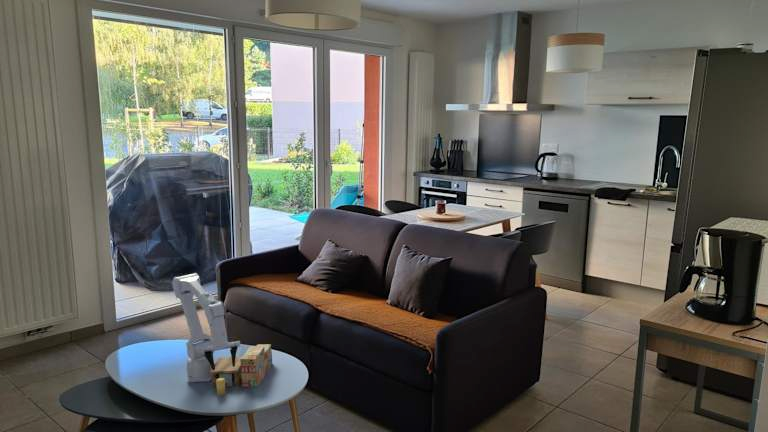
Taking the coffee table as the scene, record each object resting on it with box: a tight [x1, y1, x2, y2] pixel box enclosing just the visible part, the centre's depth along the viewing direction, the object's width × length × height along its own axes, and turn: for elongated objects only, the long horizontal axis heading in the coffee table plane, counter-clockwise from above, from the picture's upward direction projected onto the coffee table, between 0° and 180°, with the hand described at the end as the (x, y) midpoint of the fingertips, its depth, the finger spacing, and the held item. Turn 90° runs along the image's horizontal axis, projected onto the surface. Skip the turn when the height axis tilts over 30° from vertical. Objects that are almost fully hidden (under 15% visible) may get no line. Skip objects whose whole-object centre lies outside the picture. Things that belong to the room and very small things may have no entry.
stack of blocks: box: [240, 343, 273, 388], centre depth 224 cm, size 21×6×12 cm, turn 175°
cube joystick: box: [216, 373, 235, 397], centre depth 214 cm, size 5×14×6 cm, turn 2°
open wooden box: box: [210, 356, 242, 388], centre depth 221 cm, size 11×13×7 cm
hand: (223, 367), depth 209 cm, fingers open, 7 cm apart
